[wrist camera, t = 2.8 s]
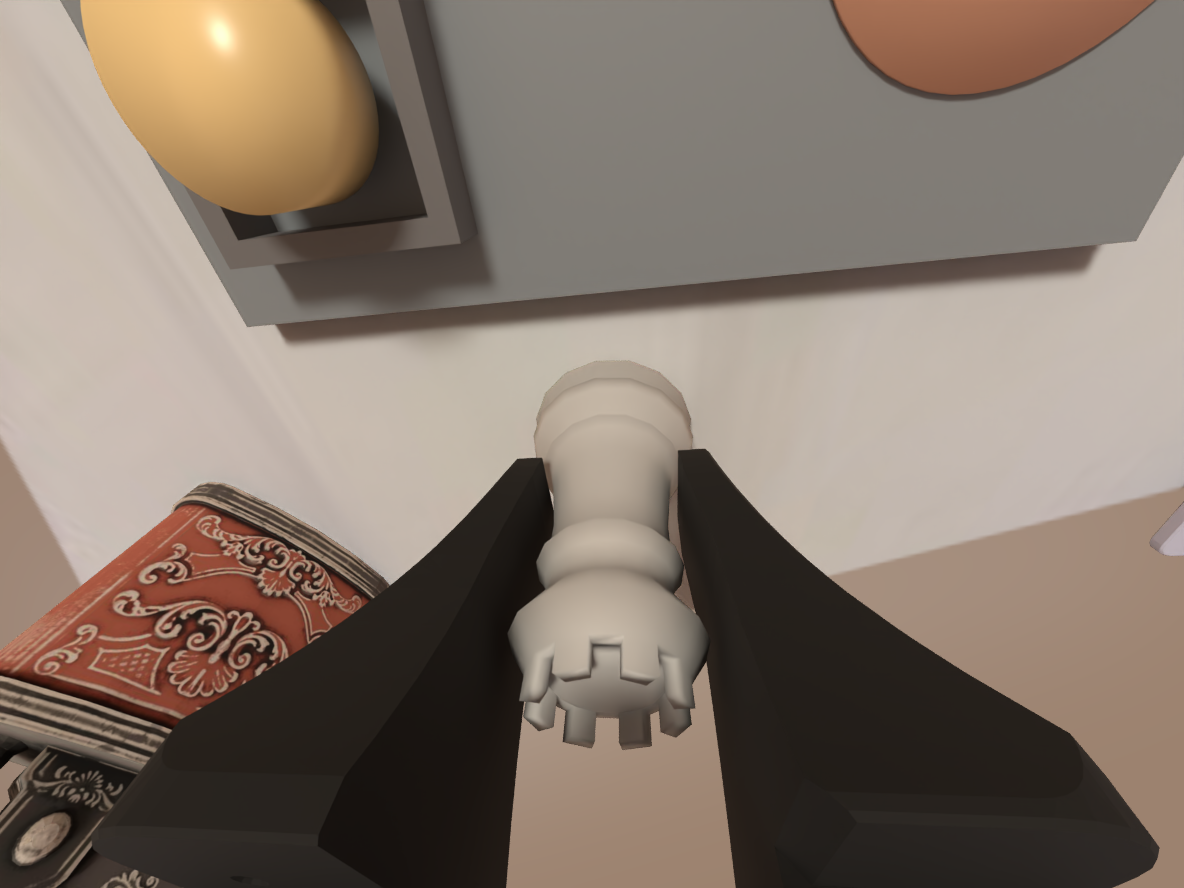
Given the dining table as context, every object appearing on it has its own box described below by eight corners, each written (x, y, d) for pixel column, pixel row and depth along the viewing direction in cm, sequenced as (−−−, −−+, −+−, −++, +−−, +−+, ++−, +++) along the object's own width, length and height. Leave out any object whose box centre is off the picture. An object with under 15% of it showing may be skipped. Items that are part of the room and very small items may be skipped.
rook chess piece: (695, 470, 14) (768, 770, 7) (561, 489, 14) (510, 777, 8) (680, 337, 11) (769, 603, 5) (519, 368, 12) (394, 636, 5)
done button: (329, -54, 6) (251, -109, 5) (405, 195, 8) (362, 202, 7) (138, -17, 7) (18, -59, 5) (252, 214, 8) (183, 226, 7)
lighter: (177, 510, 16) (-291, 886, 8) (212, 465, 15) (-315, 865, 6) (363, 613, 19) (169, 959, 11) (406, 584, 18) (220, 955, 10)
